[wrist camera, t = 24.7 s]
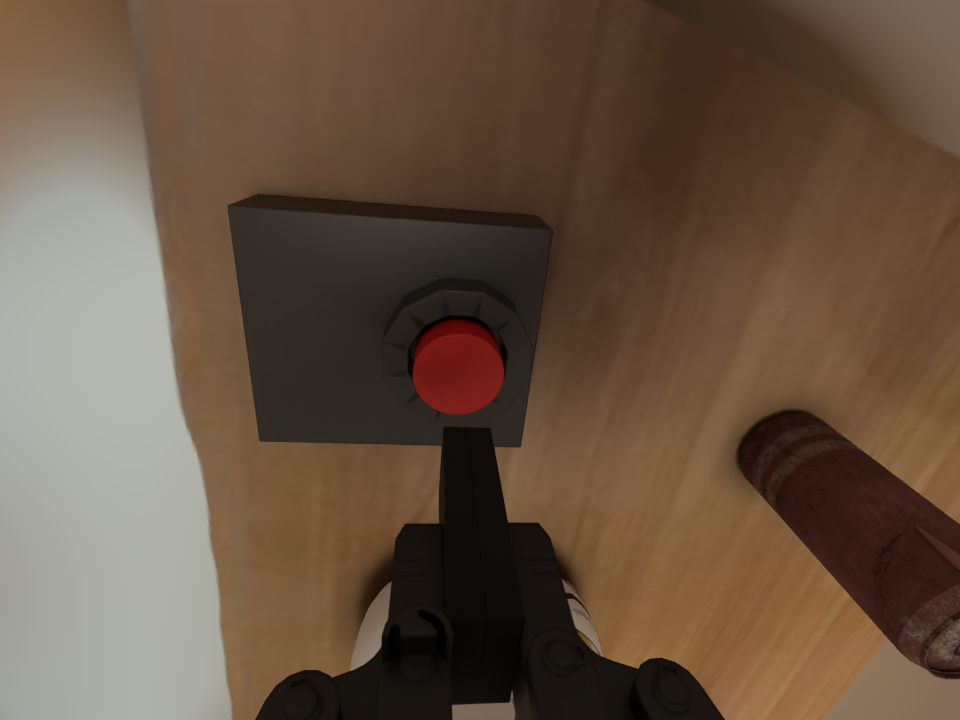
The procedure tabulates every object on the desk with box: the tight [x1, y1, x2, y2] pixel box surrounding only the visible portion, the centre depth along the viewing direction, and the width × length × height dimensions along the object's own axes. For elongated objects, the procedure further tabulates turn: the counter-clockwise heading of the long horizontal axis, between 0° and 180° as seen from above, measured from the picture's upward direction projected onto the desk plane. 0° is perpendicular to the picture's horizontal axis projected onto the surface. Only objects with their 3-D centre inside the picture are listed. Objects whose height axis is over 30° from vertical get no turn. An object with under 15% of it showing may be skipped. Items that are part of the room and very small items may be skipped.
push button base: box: [228, 194, 553, 447], centre depth 24 cm, size 14×12×6 cm
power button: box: [413, 319, 504, 415], centre depth 22 cm, size 4×4×2 cm
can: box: [741, 413, 960, 679], centre depth 27 cm, size 6×6×14 cm
